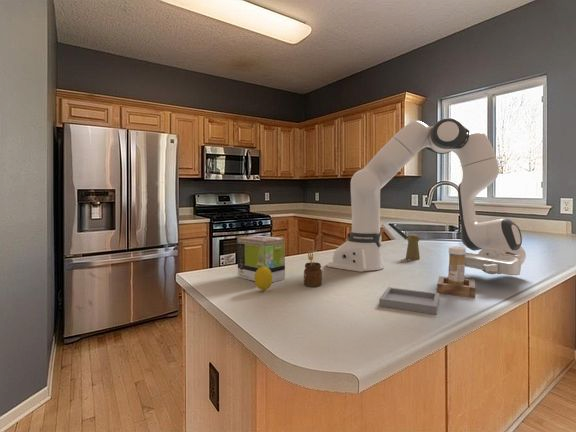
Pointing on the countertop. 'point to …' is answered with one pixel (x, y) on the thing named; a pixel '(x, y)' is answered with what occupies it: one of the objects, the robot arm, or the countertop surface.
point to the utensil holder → (312, 272)
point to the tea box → (261, 256)
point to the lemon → (263, 278)
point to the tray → (410, 300)
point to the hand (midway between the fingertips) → (469, 265)
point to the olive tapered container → (412, 247)
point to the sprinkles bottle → (456, 265)
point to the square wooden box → (456, 287)
